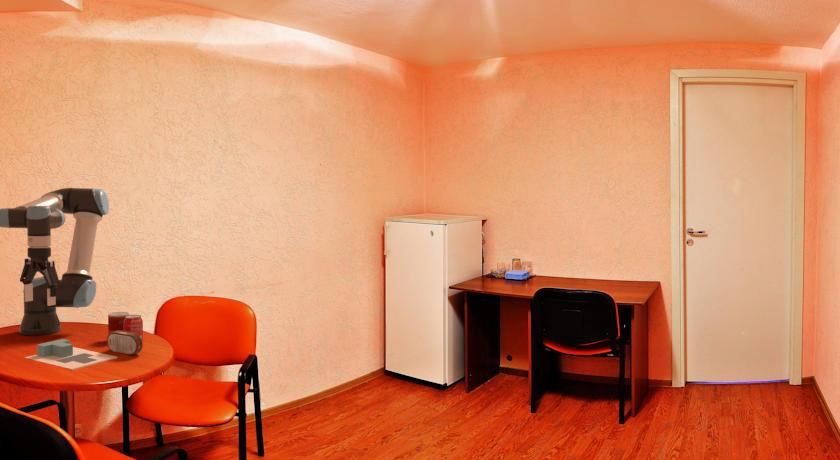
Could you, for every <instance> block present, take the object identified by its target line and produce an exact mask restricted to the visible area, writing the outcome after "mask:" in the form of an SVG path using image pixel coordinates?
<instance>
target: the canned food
mask: <svg viewBox="0 0 840 460" xmlns="http://www.w3.org/2000/svg"><path fill="white" fill-rule="evenodd" d="M128 315H130V313H129V312H126V311H115V312H114V311H113V312H110V313H108V316H107V317H108V318H107V324H108V325H107V327H108V328H107V329H108V330H107V336H108V335H109V334H110V333H112V332H115V331H117V330H119V331H123V323H124V320H125V316H128Z"/></svg>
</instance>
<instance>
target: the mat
mask: <svg viewBox="0 0 840 460" xmlns="http://www.w3.org/2000/svg"><path fill="white" fill-rule="evenodd" d="M24 359H29V360H33V361H36V362H41V363H44V364H48V365H49V364H50V365H53V366H57V367H61V368H64V369H68V370H70V371H75V370H79V369H83V368H86V367H89V366H94V365H97V364H100V363H103V362H109V361H112V360H115V359H118V356H116V355H111V354H106V353H102V352H97V351H92V350H89V349H83V348H80V347H79V348H78V347H75V346H73V355H71V356H67V357H63V358H62V357H58V356H53V355H51V356H47V357H42V356H37V354H34V355H29V356H25V357H24Z"/></svg>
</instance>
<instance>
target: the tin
mask: <svg viewBox="0 0 840 460" xmlns="http://www.w3.org/2000/svg"><path fill="white" fill-rule="evenodd" d="M106 341H107V347H108V349H109V350H110V351H111V352H115V353H121V354H125V355H127V356H134V355H136V354H137V355H138V354H139V353H141V352H142V349H143V342H142V340H141V338H140V337H139V336H138V335H137V334H136V333H132V332H125V331H119V330H117V331H115V332H112V333H110V334H109V335H108V334H107V339H106Z"/></svg>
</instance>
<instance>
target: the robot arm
mask: <svg viewBox="0 0 840 460" xmlns="http://www.w3.org/2000/svg"><path fill="white" fill-rule="evenodd" d="M108 198H109V197H108V195H107V193H106V191H105V190H104V189H101V188H93V187H92V188H84V187H83V188H80V187H65V188H60V189H59V188H58V189H55V190H51V191H49V192H46V193H44V194H42V196H41V197H40V198H37V199H36V200H35V199H34V200H32V201H29V202H27V203H25V204H22V205H19V206H17V207H12V208H11V207H6V208H5V207H4V208H0V227H1V228H7V229H27V230H26V233H27V235H26V236H27V240H26V241H27V246H28V248H27V258H24V263H23V264H24V265H23V268H22V271H21V275H20V277H19V282H20V283H22V284H23V290H22V291H23V317H22V319H21V322H20V325H19V328H18V330H19V331H18V332H19V334H20V335H24V336H42V335H50V334H55V333H58V332H60V331H61V330H62V324H61V322H60V319H59V317H58V313H57V308H76V309H78V308H86V307H88V306H90V305H91V304H92V303H93V301H94V299H95V296H96V294H97V283H96V282H95V280H93V276H92V275H91V273H90V271H91V266H92V260H93V253H94V248H95V247H94V246H95V242H96V234H97V228H98V223H100V222H101V221H102V220H103V216H106V215H108V213H109V211H110V203H109V199H108ZM65 214H66V215H68V214H69V215H72V217H73V218H74V219H75V223H74V228H73V229H74V230H73V233H72V234H73V235H72V241H71V247H70V253H69V258H68V263H67V264H68V265H67V269H66V270H67V271H66V272H63V273H62V275H61V279H59V277H58V273H57V270H56V265H55V264H56V263H55V261H54V260H52V261H51V260H49V258H50V257H51V256H52V248H51V245H52V233H51V232H52V230H53V229H54V230H55V229H58V228H61V227H62V226H64V224H65V222H66V215H65ZM37 272H38V273H40V274H41V275H42V276H38V277H37V276H36V274H37Z"/></svg>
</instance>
